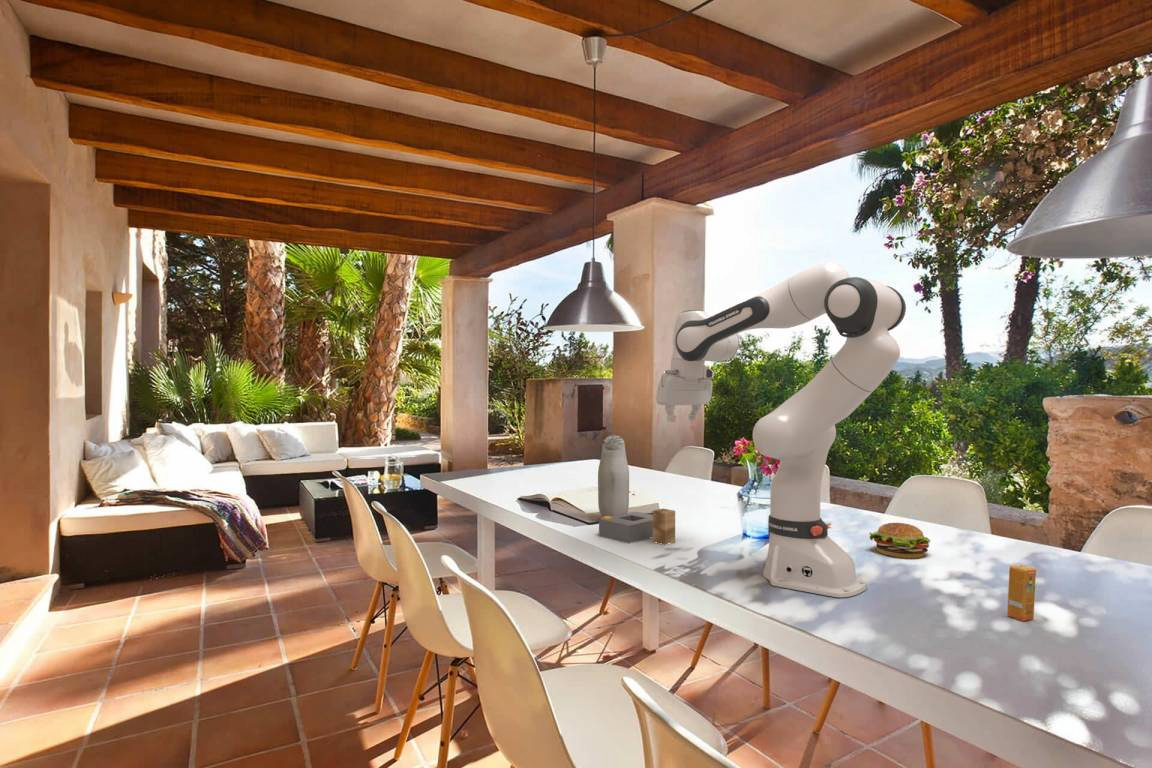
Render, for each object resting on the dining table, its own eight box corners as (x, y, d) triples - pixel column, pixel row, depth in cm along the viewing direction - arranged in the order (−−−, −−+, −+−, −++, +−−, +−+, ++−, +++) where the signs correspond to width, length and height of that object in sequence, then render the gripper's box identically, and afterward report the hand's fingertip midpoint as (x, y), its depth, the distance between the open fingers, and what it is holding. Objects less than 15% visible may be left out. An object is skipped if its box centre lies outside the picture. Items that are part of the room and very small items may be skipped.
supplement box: (1024, 622, 125) (1025, 569, 125) (1006, 616, 128) (1007, 565, 128) (1036, 619, 126) (1036, 568, 126) (1017, 613, 130) (1018, 563, 129)
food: (898, 544, 184) (898, 516, 184) (940, 557, 171) (940, 527, 171) (858, 548, 180) (858, 519, 180) (898, 562, 167) (898, 530, 167)
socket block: (665, 534, 196) (665, 515, 196) (629, 543, 185) (629, 523, 185) (634, 527, 205) (634, 509, 205) (598, 535, 194) (598, 517, 194)
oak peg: (675, 542, 186) (675, 510, 186) (665, 545, 183) (665, 513, 183) (662, 539, 189) (662, 508, 189) (652, 542, 186) (652, 510, 186)
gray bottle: (595, 518, 218) (596, 434, 218) (626, 517, 220) (626, 433, 219) (600, 524, 209) (600, 436, 208) (631, 523, 210) (632, 436, 210)
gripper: (672, 370, 168) (667, 424, 169) (717, 372, 182) (713, 421, 183) (653, 368, 172) (648, 420, 173) (699, 370, 186) (694, 418, 187)
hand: (681, 421), depth 178 cm, fingers open, 8 cm apart
